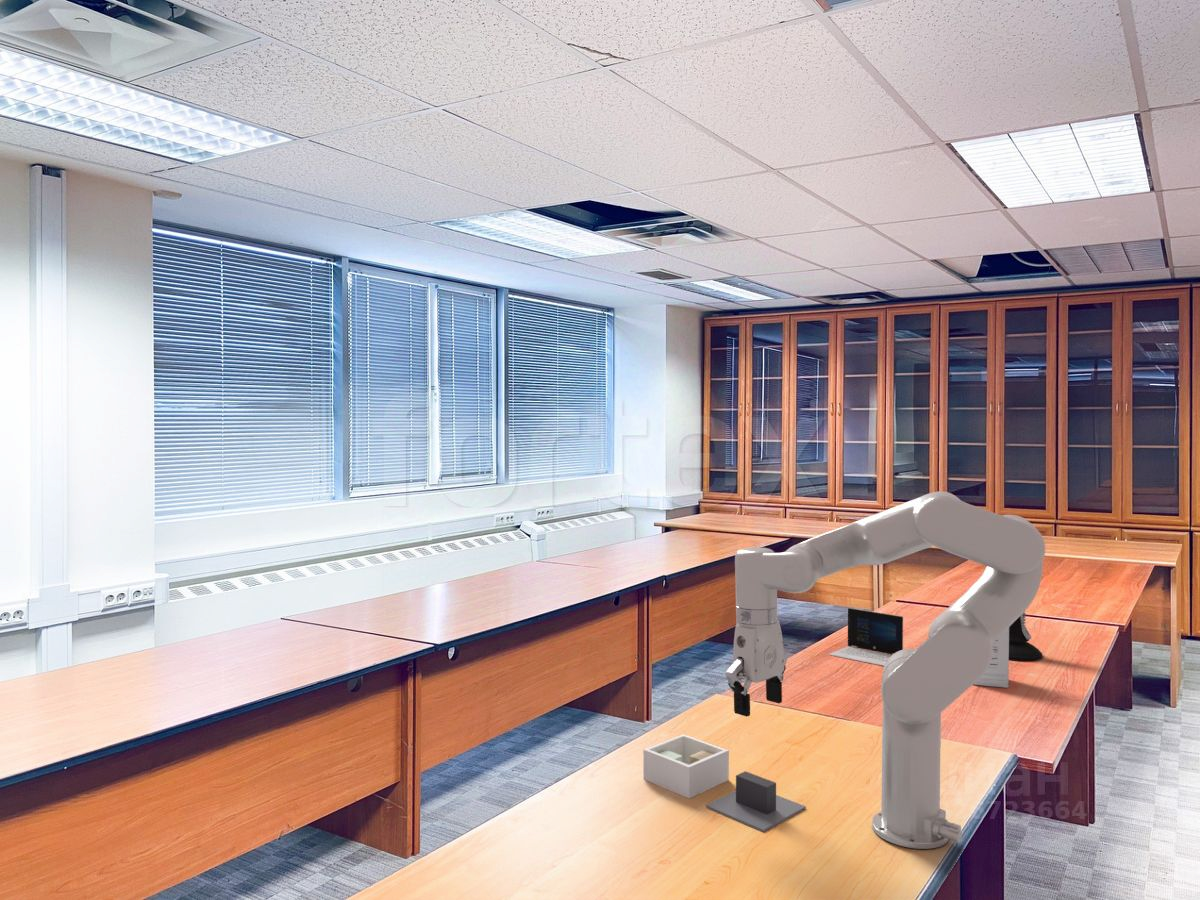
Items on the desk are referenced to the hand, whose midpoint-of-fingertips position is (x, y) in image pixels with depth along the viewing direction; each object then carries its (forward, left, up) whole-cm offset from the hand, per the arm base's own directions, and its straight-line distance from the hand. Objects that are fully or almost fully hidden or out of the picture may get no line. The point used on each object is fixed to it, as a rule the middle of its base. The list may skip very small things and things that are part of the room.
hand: (758, 708), depth 156 cm
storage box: (+17, 0, -19) cm, 26 cm away
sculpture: (+12, -141, -19) cm, 142 cm away
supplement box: (+2, -108, -19) cm, 109 cm away
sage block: (+20, +3, -18) cm, 27 cm away
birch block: (+15, -2, -18) cm, 23 cm away
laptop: (+38, -106, -19) cm, 114 cm away
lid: (0, 0, -19) cm, 19 cm away
